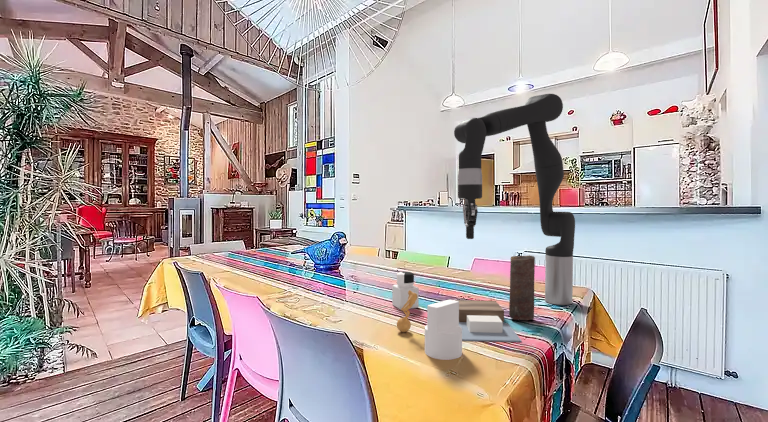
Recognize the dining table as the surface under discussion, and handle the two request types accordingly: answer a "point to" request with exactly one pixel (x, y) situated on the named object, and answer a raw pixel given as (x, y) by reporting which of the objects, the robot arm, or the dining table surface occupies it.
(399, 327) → the figurine
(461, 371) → the dining table surface
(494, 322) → the white rectangular block
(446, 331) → the cylinder with rectangular tab
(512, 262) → the candle
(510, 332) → the mat
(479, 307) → the brown flat block
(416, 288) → the medicine bottle
